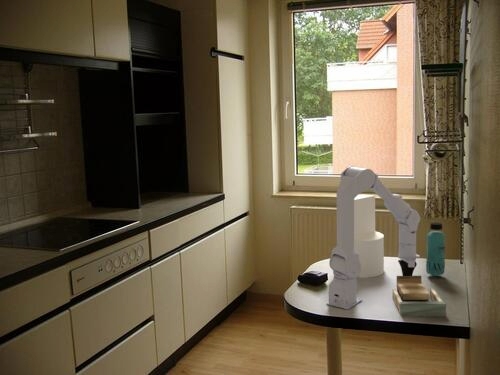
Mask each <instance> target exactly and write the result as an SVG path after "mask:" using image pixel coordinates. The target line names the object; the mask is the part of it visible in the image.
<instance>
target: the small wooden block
mask: <svg viewBox="0 0 500 375" xmlns="http://www.w3.org/2000/svg"><path fill="white" fill-rule="evenodd" d="M396 291H397V292H398V294H400V298H401V300H402V302H407V301H410V300H411V301H414V300H415V301H416V300H417V301H419V300H423V302H429V300H430V292H429V291H428V290H427V288H426V287H425V285H424V284H423V282H422V275H412V276H403V275H396Z"/></svg>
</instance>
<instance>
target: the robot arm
mask: <svg viewBox="0 0 500 375" xmlns="http://www.w3.org/2000/svg"><path fill="white" fill-rule="evenodd" d="M369 189H370V190H371V191H373V192H374V193H375V194H376V195H377V196H378V197H379V198H380V199H382V201H384V202H383V205H384V207H385V209H387V211H389V212H390V213H391V214H392V215H393V216H394V220H395V222H396V223H398V255H397V257H398V264H399V266H400V270H401V276H413V275H414V274H413V273H414V271H415V269H416V268H417V264H418V263H417V262H416V260H417V259H420V257H421V256H420V255H419V254H417V231H418V228H419V227H418V225H419V223H420V222H421V219H422V218H421V216H420V214H419V212H418V210H416V209H413V208H412V207H411V205H410V203H407V202H405V200H404V199H403V196H402V195H401V194H397V193H392V192H391V191H390V189H389V188H388V187H387V186H386V185H385V184H384V183H383V182H382V181H381V179H380V178H379V175H378V174H377V173H375V172H374V171H373V170H372V169H370V168H362V167H356V166H348V167H346V168H345V169H344V170H343V171H342V172H341V173H340V182H339V184H338V186H337V191H336V246H335V247H333V249H331V256H330V259H329V264H328V265H329V267H330V269H331V270H332V274H333V279H332V280H331V281H330V282H329V284H328V301H327V302H326V305H327V306H331V307H337V308H340V309H345V310H350V309H351V308H352V307H354V306H356V305H358V304H359V303H361V302H362V301H363V299H362V298H359V297H357V296H358V294H357V291H358V289H357V285H358V284H357V278H358V277H357V276H358V275H359V273H360V271H361V263H360V261H359V254H358V253H357V251H356V249H355V248H354V199H355V197H356V196H357V195H361V194H362V193H364V192H365V191H367V190H369Z"/></svg>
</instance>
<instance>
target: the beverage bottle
mask: <svg viewBox="0 0 500 375" xmlns="http://www.w3.org/2000/svg"><path fill="white" fill-rule="evenodd" d="M429 229H430V230H432V231H429V232H428V233H427V234H426V260H425V261H426V262H425V263H426V264H425V265H426V266H425V267H426V270H425V271H426V274H428V275H431V276H442V275H444V274H445V269H446V257H445V256H446V255H445V254H446V234H444V233H443V231H441V230H443V224H442V223H441V222H438V221H437V222H434V221H433V222H431V223H430V227H429Z"/></svg>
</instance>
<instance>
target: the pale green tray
mask: <svg viewBox="0 0 500 375" xmlns="http://www.w3.org/2000/svg"><path fill="white" fill-rule="evenodd" d="M429 291H430V292H429V299H430V300H431V301H402V297H401V295H399V294H400V293H399V292H397V288H392V300H393V302H394V304H395V305H396V308H397V310H398V312H399V315H400V316H401V317H447V303H446V301H443V300H442V299H441V298H440V296H439V295H438V293H437V292H436V290H435V289H434V288H430V289H429Z"/></svg>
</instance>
